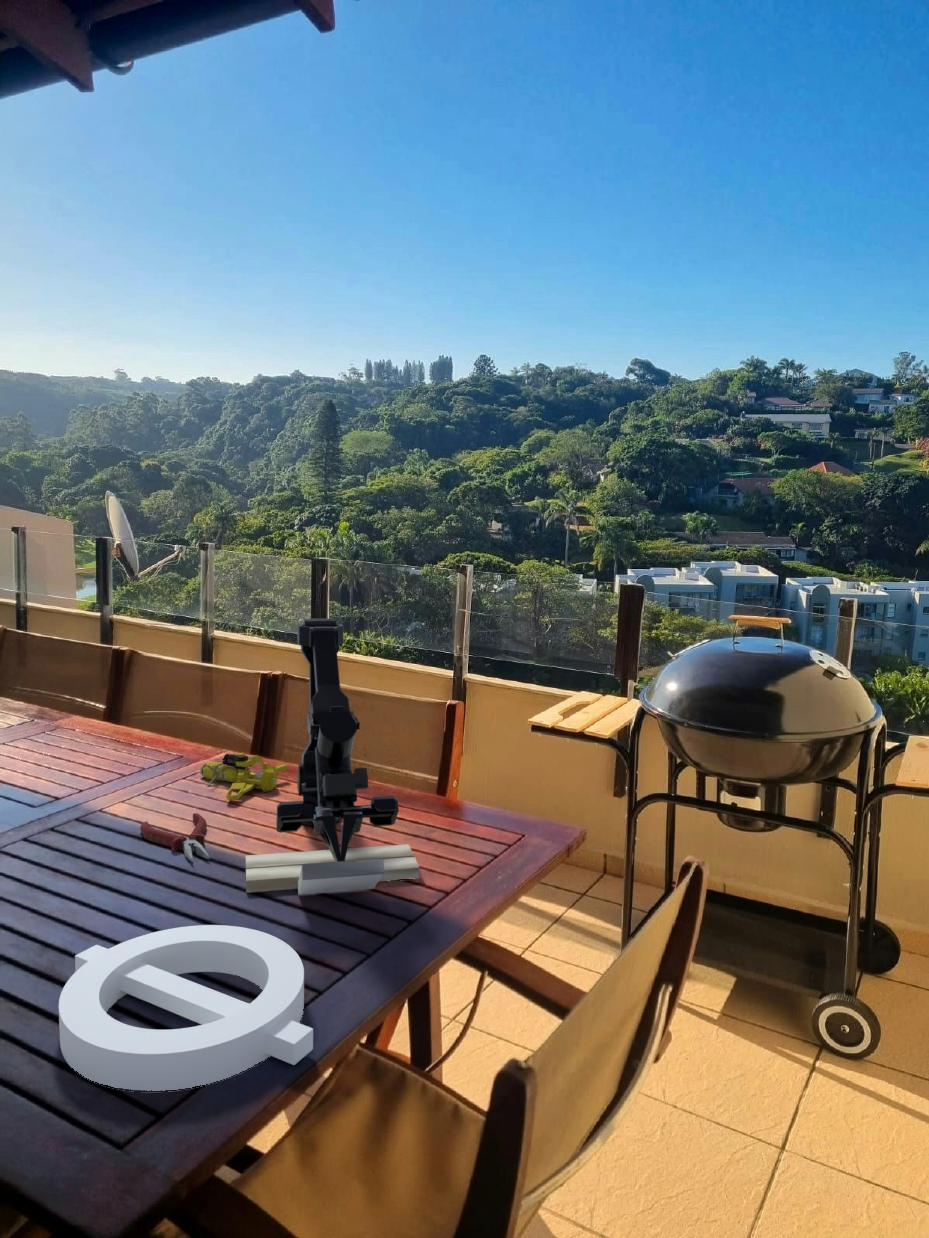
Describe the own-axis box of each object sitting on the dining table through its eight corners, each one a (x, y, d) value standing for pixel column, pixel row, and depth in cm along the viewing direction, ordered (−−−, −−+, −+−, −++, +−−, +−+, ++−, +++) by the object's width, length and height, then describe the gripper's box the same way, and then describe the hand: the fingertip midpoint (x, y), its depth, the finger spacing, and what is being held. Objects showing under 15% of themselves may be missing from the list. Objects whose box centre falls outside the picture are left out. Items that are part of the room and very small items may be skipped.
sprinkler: (226, 737, 201) (297, 747, 192) (229, 768, 203) (299, 780, 194) (164, 763, 185) (238, 775, 176) (167, 797, 186) (240, 811, 177)
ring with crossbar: (317, 1071, 98) (317, 1032, 97) (40, 1115, 90) (39, 1072, 89) (292, 946, 124) (292, 915, 124) (77, 971, 116) (75, 938, 116)
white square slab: (297, 881, 140) (302, 864, 129) (372, 875, 143) (383, 858, 132) (298, 894, 139) (302, 878, 128) (373, 888, 142) (384, 872, 131)
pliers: (167, 873, 147) (167, 858, 146) (138, 833, 163) (138, 820, 163) (234, 860, 153) (234, 846, 153) (200, 823, 170) (199, 810, 169)
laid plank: (245, 866, 149) (245, 854, 149) (408, 854, 156) (408, 843, 156) (246, 892, 140) (246, 879, 139) (419, 878, 146) (419, 866, 146)
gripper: (277, 751, 134) (280, 849, 125) (397, 746, 139) (409, 840, 130) (275, 784, 143) (277, 878, 134) (388, 779, 147) (398, 868, 138)
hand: (341, 865), depth 134 cm, fingers closed
